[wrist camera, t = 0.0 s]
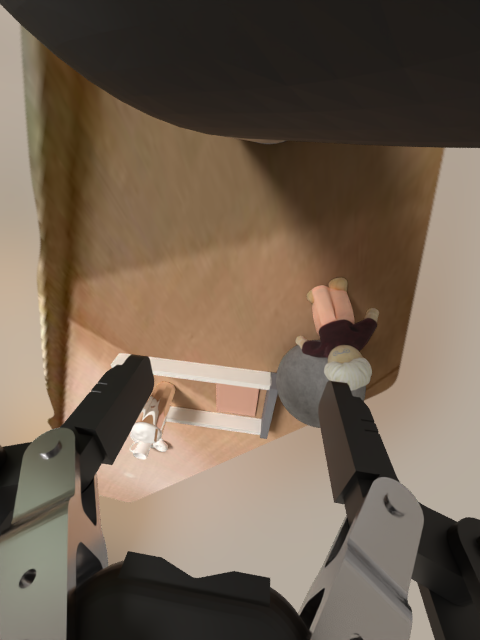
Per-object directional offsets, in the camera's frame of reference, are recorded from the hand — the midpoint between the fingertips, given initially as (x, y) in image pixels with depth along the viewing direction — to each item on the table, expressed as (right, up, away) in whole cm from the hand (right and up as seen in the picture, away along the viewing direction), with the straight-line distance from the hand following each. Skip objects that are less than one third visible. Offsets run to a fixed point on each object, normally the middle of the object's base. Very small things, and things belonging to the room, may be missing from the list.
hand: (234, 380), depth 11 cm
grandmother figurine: (+10, +6, +16) cm, 20 cm away
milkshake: (-12, -9, +30) cm, 34 cm away
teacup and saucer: (-20, -27, +46) cm, 57 cm away
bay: (-7, -9, +30) cm, 32 cm away
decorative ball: (+10, -2, +22) cm, 24 cm away
